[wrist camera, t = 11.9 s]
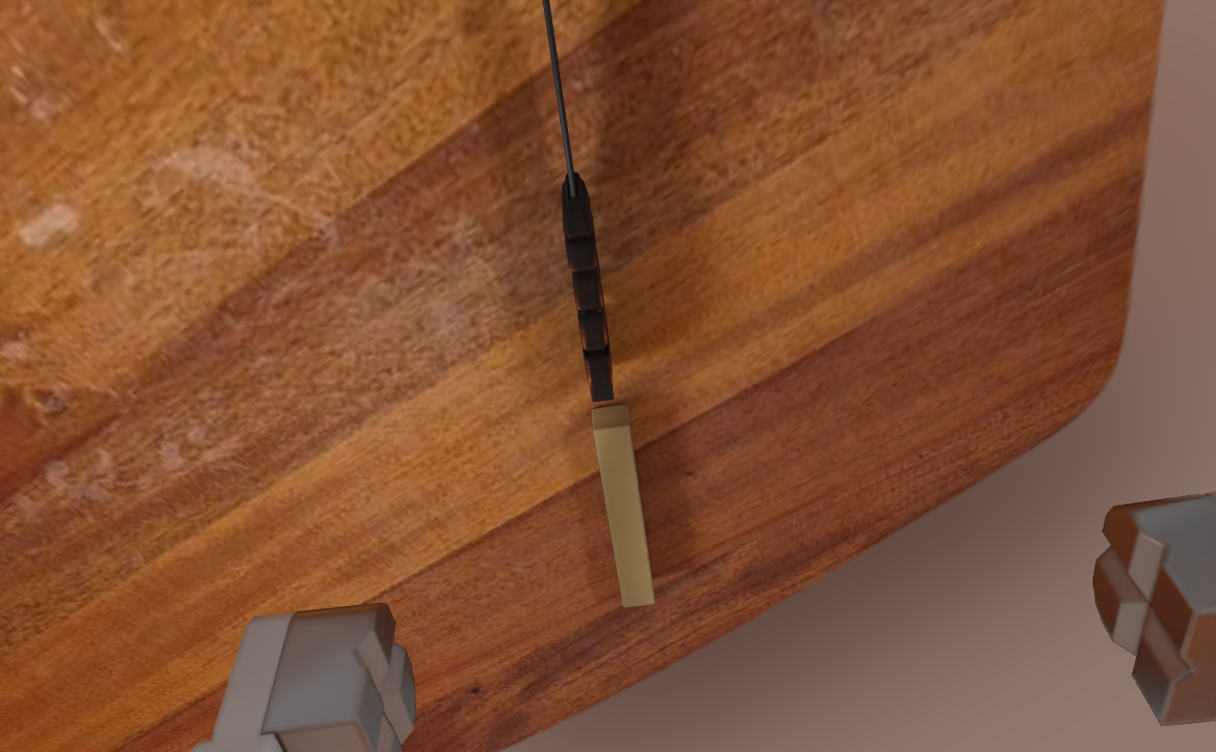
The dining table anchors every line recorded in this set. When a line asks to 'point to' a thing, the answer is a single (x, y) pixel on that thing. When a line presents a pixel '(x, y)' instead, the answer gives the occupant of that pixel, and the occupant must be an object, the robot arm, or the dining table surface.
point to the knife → (582, 255)
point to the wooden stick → (623, 503)
